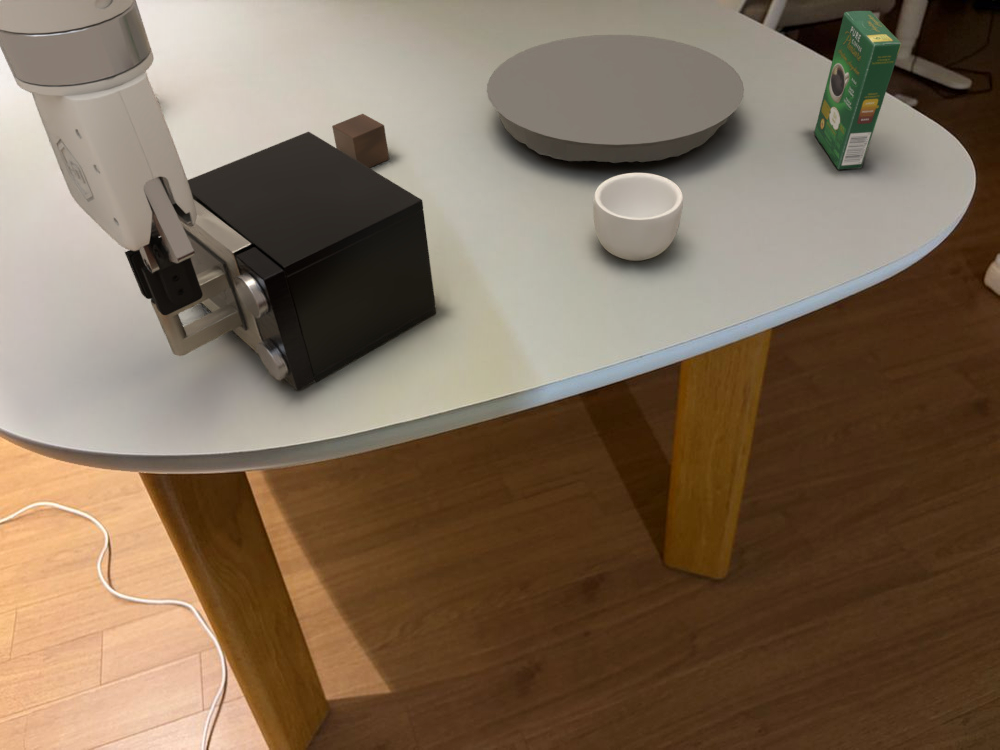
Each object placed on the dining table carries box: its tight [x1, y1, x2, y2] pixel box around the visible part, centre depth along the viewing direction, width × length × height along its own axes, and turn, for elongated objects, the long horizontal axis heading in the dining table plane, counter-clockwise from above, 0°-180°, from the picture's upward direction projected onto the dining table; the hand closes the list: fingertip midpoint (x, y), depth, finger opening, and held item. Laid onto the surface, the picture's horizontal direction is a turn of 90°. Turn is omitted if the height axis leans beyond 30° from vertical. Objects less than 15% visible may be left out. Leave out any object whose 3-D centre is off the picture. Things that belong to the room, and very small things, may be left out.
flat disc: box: [486, 34, 745, 164], centre depth 90 cm, size 28×28×4 cm
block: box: [331, 113, 390, 169], centre depth 86 cm, size 4×4×4 cm
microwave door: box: [150, 199, 263, 357], centre depth 62 cm, size 7×12×11 cm, turn 43°
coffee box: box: [813, 10, 902, 170], centre depth 80 cm, size 8×3×13 cm, turn 2°
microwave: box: [187, 131, 437, 391], centre depth 65 cm, size 14×16×11 cm
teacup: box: [592, 172, 684, 262], centre depth 72 cm, size 10×8×5 cm
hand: (173, 296), depth 58 cm, fingers closed
